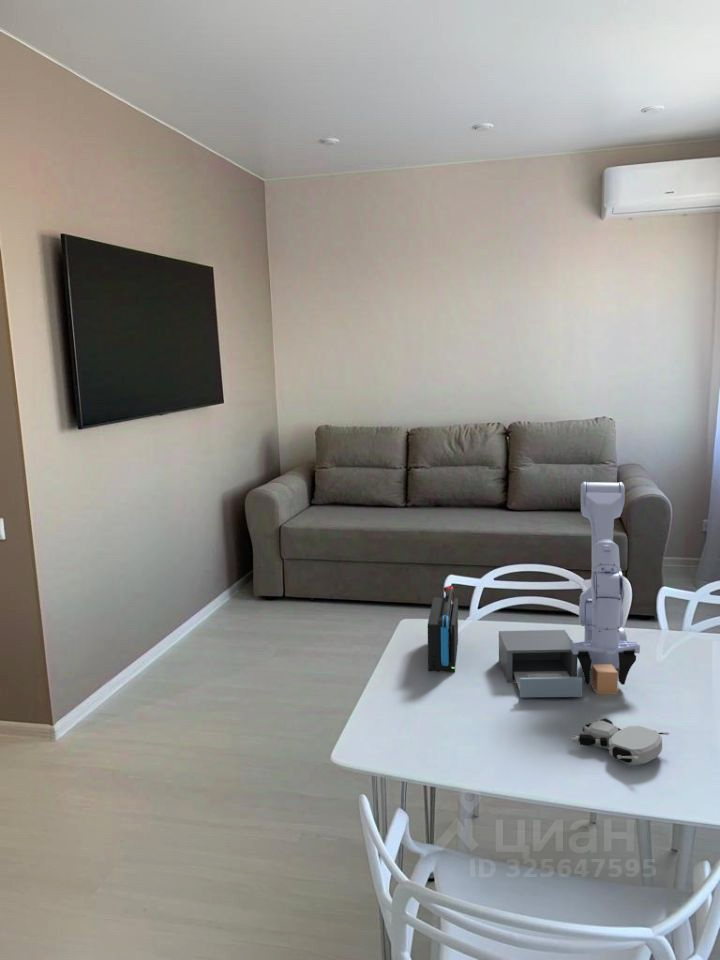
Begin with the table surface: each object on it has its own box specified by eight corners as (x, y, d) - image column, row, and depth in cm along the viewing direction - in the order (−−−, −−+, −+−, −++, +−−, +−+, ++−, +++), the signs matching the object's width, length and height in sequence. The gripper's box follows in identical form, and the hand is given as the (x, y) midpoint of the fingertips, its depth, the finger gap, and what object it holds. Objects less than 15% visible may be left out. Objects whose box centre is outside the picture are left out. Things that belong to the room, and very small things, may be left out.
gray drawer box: (564, 660, 181) (564, 629, 180) (577, 681, 170) (577, 649, 168) (498, 661, 182) (498, 631, 181) (507, 682, 170) (507, 650, 169)
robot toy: (566, 753, 141) (641, 779, 130) (565, 731, 141) (640, 755, 130) (600, 730, 150) (673, 753, 138) (599, 709, 149) (672, 730, 138)
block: (611, 684, 168) (611, 664, 167) (617, 693, 163) (617, 672, 162) (591, 685, 168) (592, 664, 167) (597, 693, 163) (597, 672, 162)
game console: (454, 680, 172) (453, 621, 170) (426, 679, 173) (425, 620, 171) (458, 635, 199) (458, 583, 197) (435, 634, 200) (434, 582, 198)
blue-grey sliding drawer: (568, 673, 172) (568, 656, 171) (581, 696, 160) (582, 678, 160) (511, 674, 172) (511, 657, 171) (520, 697, 161) (520, 679, 160)
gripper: (577, 632, 159) (576, 691, 161) (645, 631, 159) (643, 690, 161) (569, 620, 166) (568, 677, 168) (634, 619, 166) (632, 676, 168)
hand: (604, 682), depth 165 cm, fingers open, 7 cm apart
